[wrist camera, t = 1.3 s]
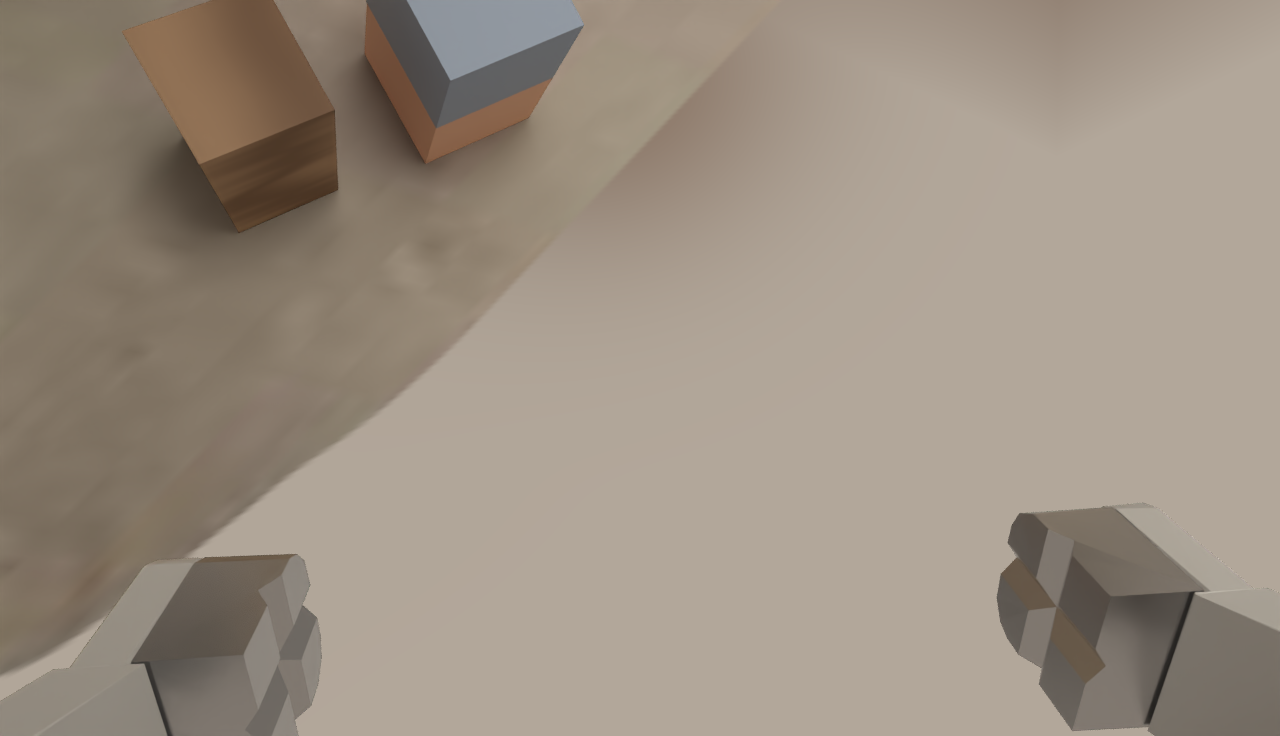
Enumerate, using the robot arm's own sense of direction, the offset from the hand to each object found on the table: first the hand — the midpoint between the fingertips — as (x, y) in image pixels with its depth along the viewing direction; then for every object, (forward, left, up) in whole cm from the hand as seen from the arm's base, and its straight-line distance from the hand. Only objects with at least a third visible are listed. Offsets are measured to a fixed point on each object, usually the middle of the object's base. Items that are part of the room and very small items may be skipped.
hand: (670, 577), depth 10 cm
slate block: (-3, +17, -24) cm, 30 cm away
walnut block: (-9, +11, -29) cm, 33 cm away
